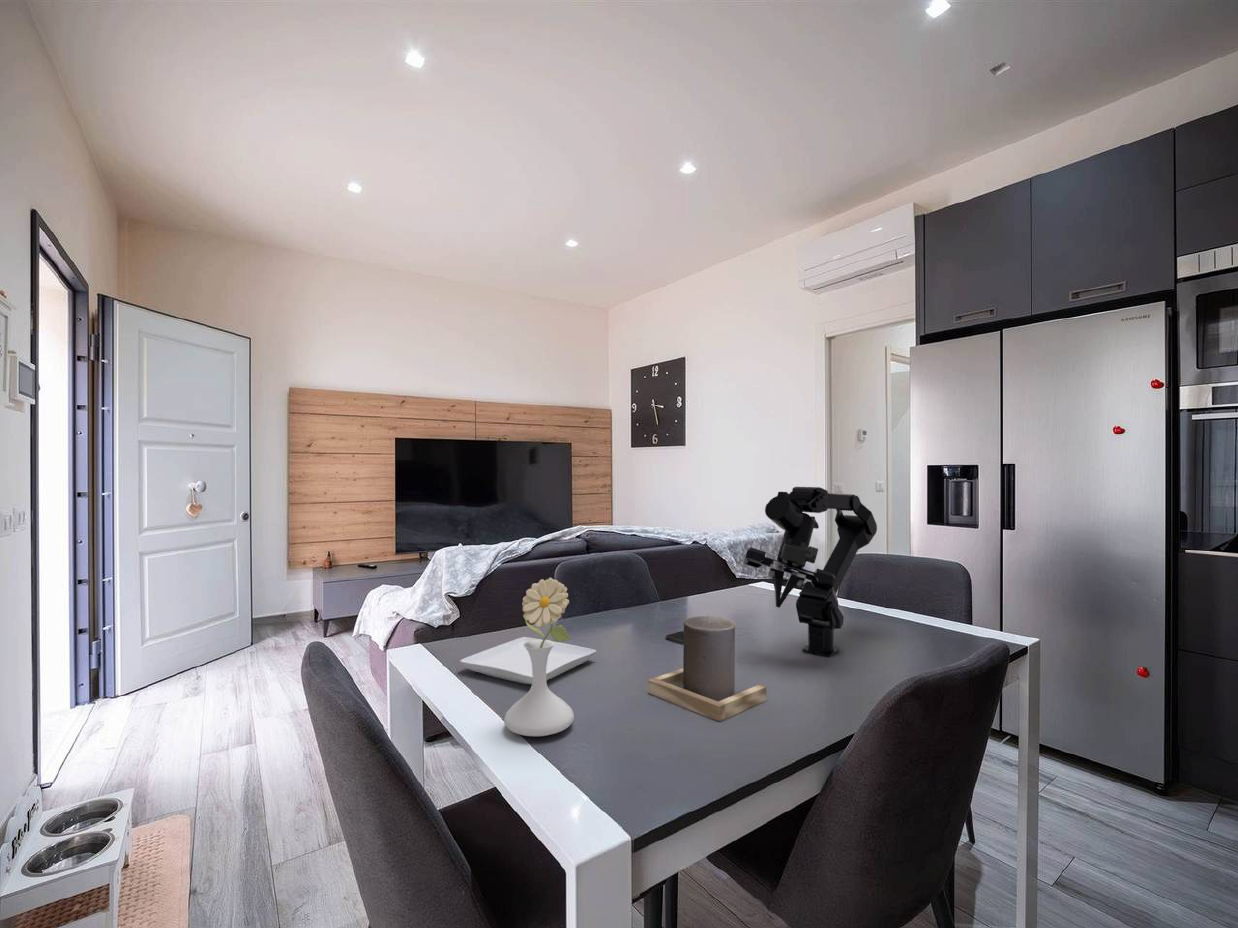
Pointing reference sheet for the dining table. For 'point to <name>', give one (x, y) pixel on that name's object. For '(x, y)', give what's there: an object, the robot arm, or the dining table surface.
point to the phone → (676, 637)
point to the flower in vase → (541, 665)
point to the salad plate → (525, 660)
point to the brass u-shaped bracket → (718, 711)
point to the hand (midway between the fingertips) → (777, 606)
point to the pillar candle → (709, 657)
